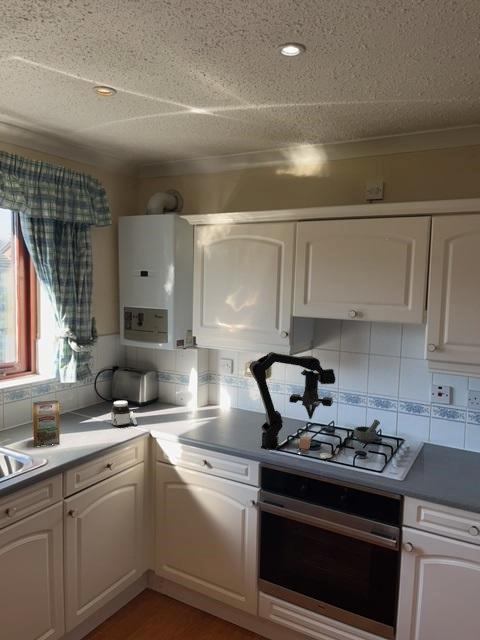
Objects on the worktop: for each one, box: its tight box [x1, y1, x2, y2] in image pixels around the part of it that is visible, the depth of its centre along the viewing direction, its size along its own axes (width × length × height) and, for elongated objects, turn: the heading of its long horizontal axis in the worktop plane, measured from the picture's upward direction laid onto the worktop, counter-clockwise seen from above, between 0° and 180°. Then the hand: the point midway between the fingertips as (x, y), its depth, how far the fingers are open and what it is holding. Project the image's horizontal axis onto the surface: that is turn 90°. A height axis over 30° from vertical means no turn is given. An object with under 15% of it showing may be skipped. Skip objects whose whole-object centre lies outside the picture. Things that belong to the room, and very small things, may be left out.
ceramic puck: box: [319, 452, 333, 459], centre depth 204 cm, size 5×5×2 cm
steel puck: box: [296, 449, 310, 456], centre depth 207 cm, size 5×5×2 cm
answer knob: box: [298, 436, 311, 450], centre depth 213 cm, size 4×4×4 cm
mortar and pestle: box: [353, 419, 381, 445], centre depth 221 cm, size 11×9×12 cm
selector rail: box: [294, 442, 340, 455], centre depth 212 cm, size 18×6×2 cm, turn 70°
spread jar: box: [110, 400, 138, 428], centre depth 246 cm, size 12×11×12 cm
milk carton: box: [32, 399, 61, 447], centre depth 219 cm, size 11×11×19 cm
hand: (310, 418), depth 220 cm, fingers closed
